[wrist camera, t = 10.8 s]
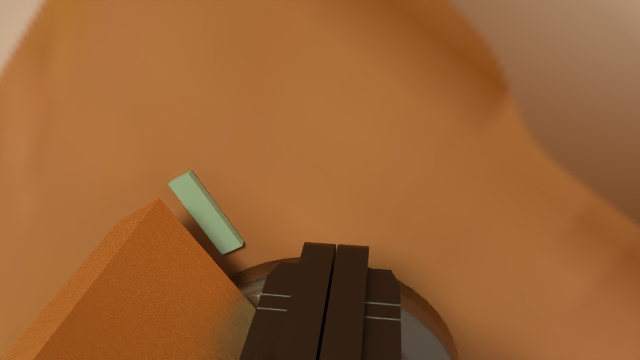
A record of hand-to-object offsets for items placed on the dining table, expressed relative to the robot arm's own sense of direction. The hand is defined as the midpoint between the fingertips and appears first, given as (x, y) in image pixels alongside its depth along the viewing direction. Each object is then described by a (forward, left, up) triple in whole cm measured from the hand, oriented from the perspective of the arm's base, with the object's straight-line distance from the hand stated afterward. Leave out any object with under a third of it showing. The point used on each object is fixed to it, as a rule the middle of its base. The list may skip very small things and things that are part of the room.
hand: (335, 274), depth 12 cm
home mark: (-1, +6, -7) cm, 9 cm away
